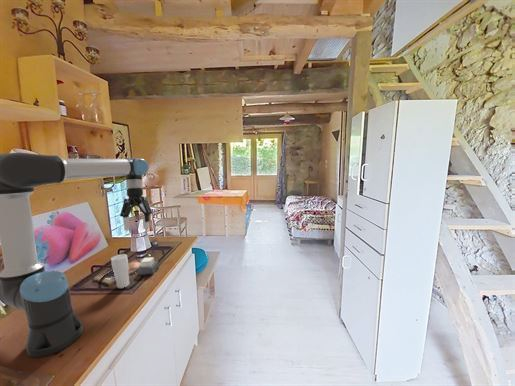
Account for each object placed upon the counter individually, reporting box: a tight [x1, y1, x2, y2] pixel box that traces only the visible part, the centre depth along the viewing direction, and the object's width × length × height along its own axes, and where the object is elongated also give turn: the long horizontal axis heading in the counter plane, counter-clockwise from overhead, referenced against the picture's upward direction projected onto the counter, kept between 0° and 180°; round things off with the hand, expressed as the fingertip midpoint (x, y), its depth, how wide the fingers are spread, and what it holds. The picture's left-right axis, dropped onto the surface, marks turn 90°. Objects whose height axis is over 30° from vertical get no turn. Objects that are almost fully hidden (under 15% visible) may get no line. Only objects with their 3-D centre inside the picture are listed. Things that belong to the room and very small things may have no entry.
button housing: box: [136, 260, 160, 277], centre depth 131 cm, size 8×8×4 cm
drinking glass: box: [110, 253, 130, 289], centre depth 116 cm, size 7×7×15 cm
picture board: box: [93, 260, 141, 285], centre depth 131 cm, size 22×13×1 cm, turn 151°
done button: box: [140, 256, 155, 267], centre depth 130 cm, size 5×5×4 cm
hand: (136, 229), depth 124 cm, fingers open, 13 cm apart
